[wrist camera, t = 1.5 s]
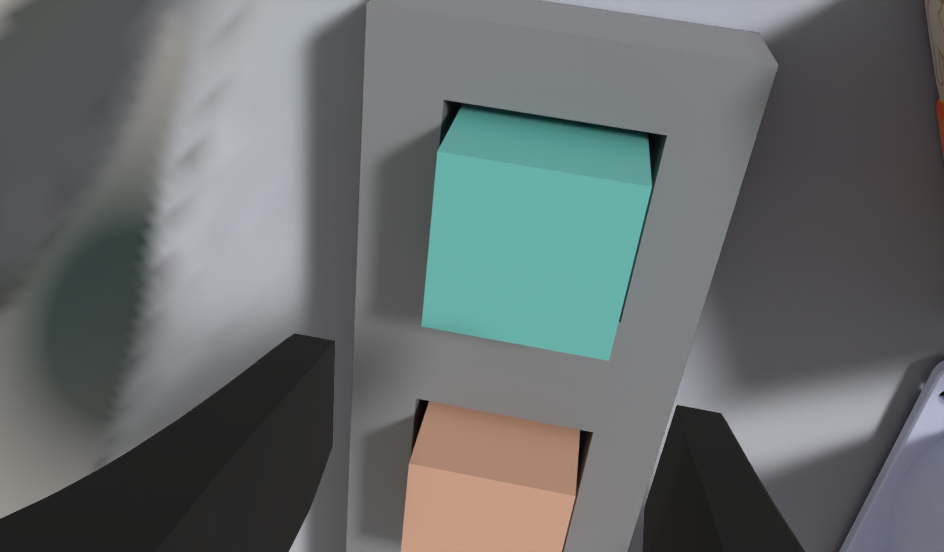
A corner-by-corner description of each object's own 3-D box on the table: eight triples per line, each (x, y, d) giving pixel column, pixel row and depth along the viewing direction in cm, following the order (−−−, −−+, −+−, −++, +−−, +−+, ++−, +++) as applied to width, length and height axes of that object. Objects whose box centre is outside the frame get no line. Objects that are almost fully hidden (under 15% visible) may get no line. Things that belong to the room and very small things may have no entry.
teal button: (611, 276, 20) (608, 361, 17) (451, 248, 20) (421, 326, 17) (647, 121, 18) (652, 187, 15) (467, 93, 18) (437, 151, 15)
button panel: (569, 684, 30) (565, 751, 28) (360, 638, 30) (339, 701, 28) (759, 33, 17) (778, 65, 15) (396, -21, 18) (366, 2, 16)
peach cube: (557, 504, 24) (548, 604, 21) (426, 478, 24) (398, 573, 21) (581, 401, 22) (575, 496, 19) (437, 374, 22) (409, 463, 19)
